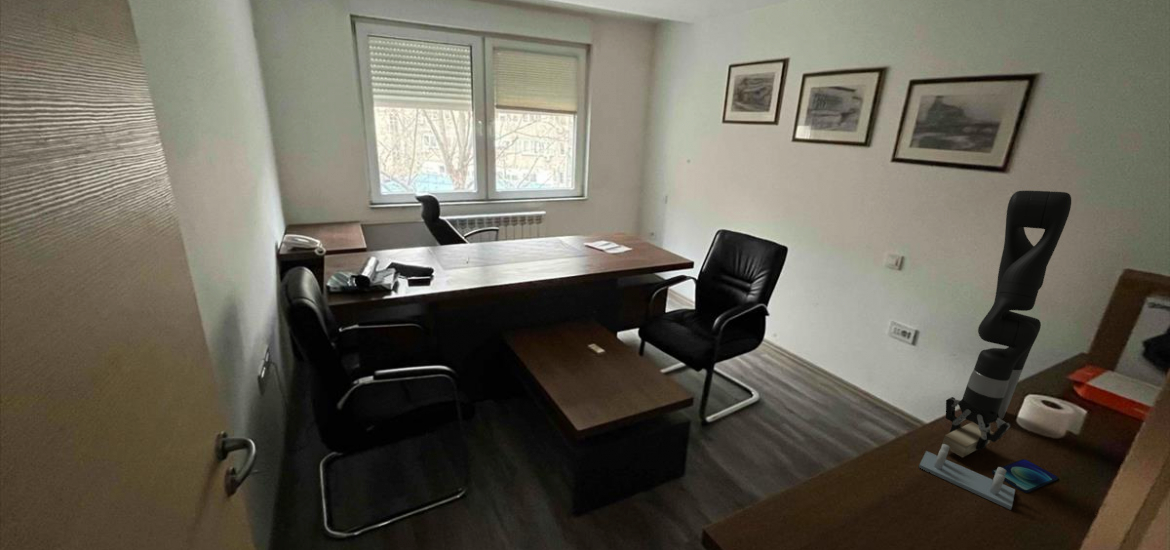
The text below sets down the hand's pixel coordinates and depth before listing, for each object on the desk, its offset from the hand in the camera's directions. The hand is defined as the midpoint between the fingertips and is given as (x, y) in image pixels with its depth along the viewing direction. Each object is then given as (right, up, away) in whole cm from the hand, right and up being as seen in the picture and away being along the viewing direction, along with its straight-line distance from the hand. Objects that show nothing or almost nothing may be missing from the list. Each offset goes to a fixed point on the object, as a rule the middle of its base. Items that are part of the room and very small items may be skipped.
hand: (966, 442), depth 124 cm
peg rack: (-9, -6, -10) cm, 15 cm away
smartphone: (+8, -6, -8) cm, 13 cm away
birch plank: (0, -1, 0) cm, 1 cm away
